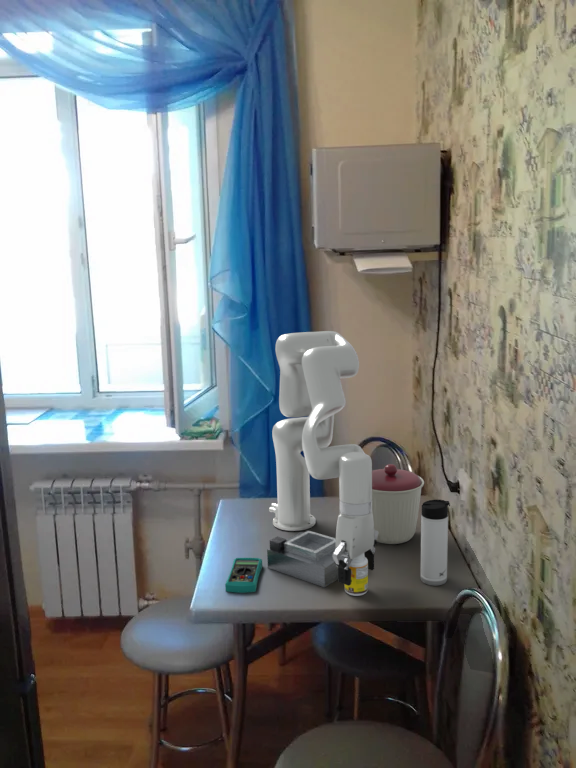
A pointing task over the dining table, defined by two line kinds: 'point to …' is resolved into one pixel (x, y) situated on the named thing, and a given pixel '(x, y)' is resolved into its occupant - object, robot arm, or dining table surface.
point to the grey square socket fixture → (305, 557)
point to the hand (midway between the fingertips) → (356, 575)
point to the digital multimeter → (244, 575)
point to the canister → (395, 503)
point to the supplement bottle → (358, 576)
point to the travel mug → (434, 542)
